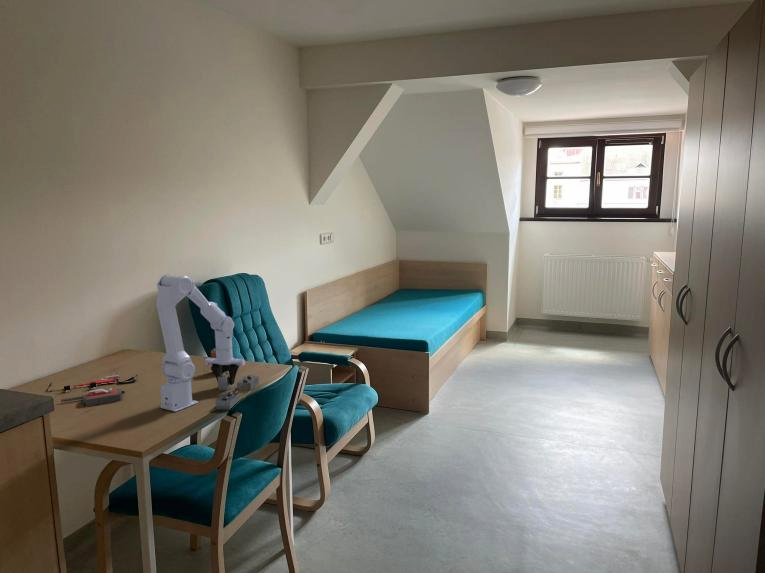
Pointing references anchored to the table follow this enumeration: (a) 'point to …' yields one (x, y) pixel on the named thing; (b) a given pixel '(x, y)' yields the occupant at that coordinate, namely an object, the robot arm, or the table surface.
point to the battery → (213, 355)
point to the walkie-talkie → (98, 397)
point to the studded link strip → (237, 393)
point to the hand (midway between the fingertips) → (226, 383)
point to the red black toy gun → (102, 381)
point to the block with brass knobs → (224, 381)
